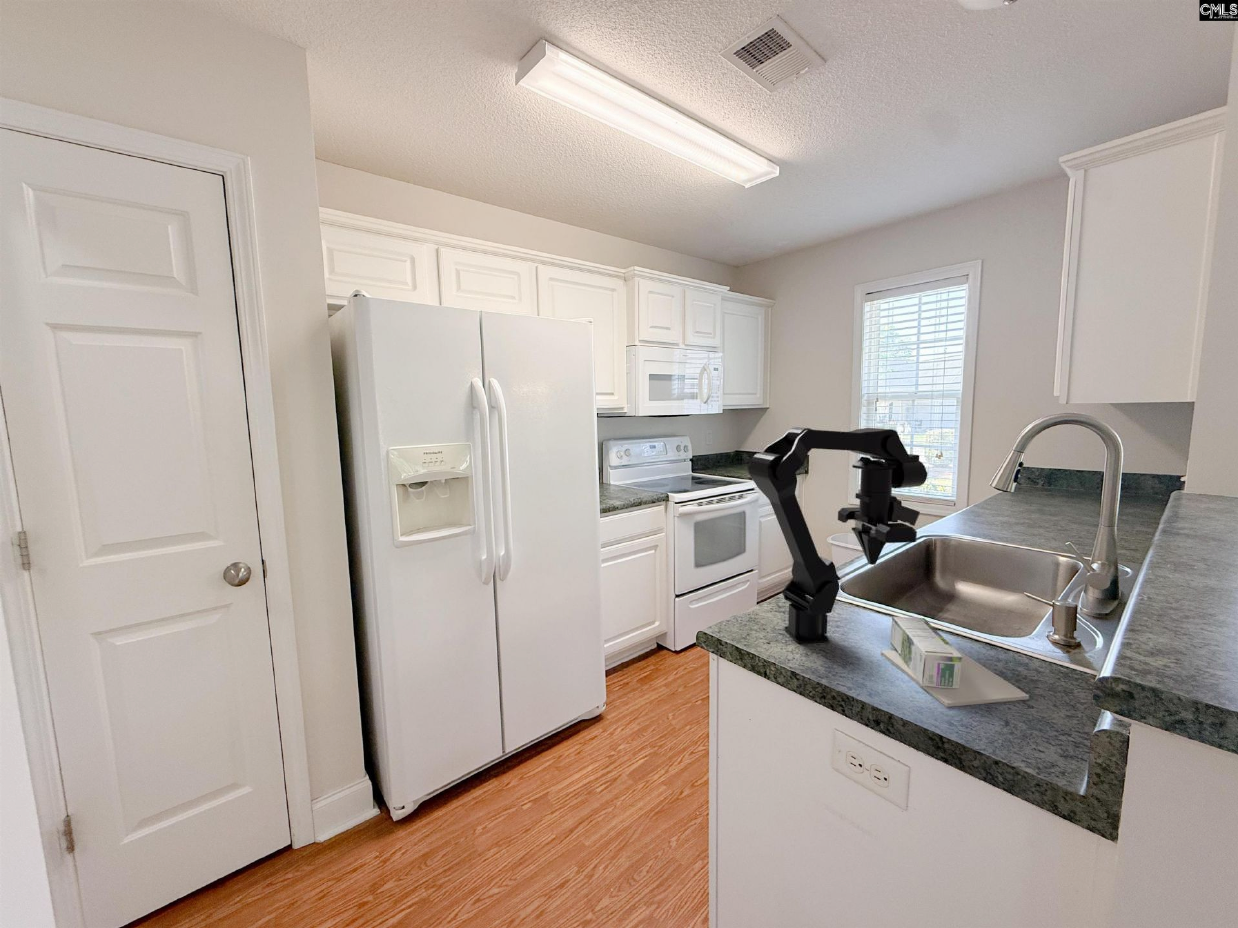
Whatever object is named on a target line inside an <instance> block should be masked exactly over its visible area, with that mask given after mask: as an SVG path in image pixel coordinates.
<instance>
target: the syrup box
mask: <svg viewBox="0 0 1238 928" xmlns="http://www.w3.org/2000/svg"><path fill="white" fill-rule="evenodd" d="M891 618H892V619H891V631H890V632H891V634H890V645H891V646H892V648H893V650H896V652H897V653H898V654H899V656H900V657H901V658H902V660H903V661H904V662H905V664H906V665H907V666H908V668H909V669H910V670H911V672H912V673H913V674H914V676H915V677H916V678H917V680H918V681H919V682H920V684H921V685H922V686H931V687H940V688H959V683H960V673H961V662H962V656H961V655H960V654H959V653H958V652H957V651H956V650H957V649H956V648H955V647H953V646H952V644H951V643H949V642H948V641H947V639H946V638H945V637H944V636H943V635H942V634H941V633H940V632H939V631H938V630H936V628H935V627H934V626H933V625H932V624H931V623H930V622H929V621H928V620H927V619H926V618H924V617H910V616H907V617H906V616H892V617H891Z"/></svg>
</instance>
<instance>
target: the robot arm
mask: <svg viewBox="0 0 1238 928" xmlns="http://www.w3.org/2000/svg"><path fill="white" fill-rule="evenodd" d="M812 449H814V450H832V451H833V450H834V451H850V452H852V453H854V454H857V455H858V454H859V455H862V456H860V458H859V459H858V460H856V461H855V462H854V463H853V464H852V465H851V466H852V468H853V469H857V470H860V486H859V487H860V488H859V492H855V499H857V500H859V506H857V507H856V506H855V507H841V508H840V509H839V510H838V511H837V521H839V522H842V523H844V524H845V523H848V521H854V522H855V523H854V527H851V531H852V532H853V533H854V535H855V538H856V539H857V542H858V544H859V545H860V548H861V549H862V552H863V553H864V556H865V559H866V560H867V561H866V562H867V563H868V564H869V565H874V566H875V565H876V564H877V562H878V560H879V558H880V555H881V554H882V551H883V549H884V547H885V546H886V543H888V544H898V543H900V544H902V543H916V542H917V540H918V538H917V535H918V531H917V530H916V529H915V528H914V527H915V526H916V523H917V521H918V518H919V516H920V514H921V511H919V510H916V509H913V508H910V507H907V506H905V505H902V504H903V503H902V500H900V499H898V498H897V496H895V495H892V494H893V492H892V491H893V489H904V488H905V489H907V488H914V487H920V486H921V487H922V485H924V484H925V483H926V482H927V479H928V471H927V469H926V466H925V465H924V463H923V462H922V461H920V455H919V454H913V453H909V452H908V451H907V449H906V447H905V446H904V444H903V442H902V440H901V438H900V436H899V434H898V431H897V430H896V429H892V428H880V427H879V428H877V427H864V428H859V429H854V430H851V431H850V430H849V431H840V430H839V431H838V430H827V429H826V430H824V429H812V428H808V427H799V426H798V427H792V428H790V429H789V430H787V431H786V432H785V433H784V435H782V436H781V437H779V438H778V439H776V440H775V441H773V442H771V443H769V444H767V446H765V447H764V448H763V449H762V450H761V451H760V452H758V453H756V454H754V456H752V458H751V459H750V461H749V464H748V466H747V470H748V474H749V477H751V479H752V481H753V482H754V484H755V486H756V487H757V488H758V490H760V491H761V493H762V494H763V495H764V496H766V498H767V499H768V500H769V502H770V505H771V508H772V511H773V512H774V515H775V517H776V519H777V522H778V525H779V527H780V529H781V533H782V535H783V537H784V540H785V542H786V545H787V547H788V550H789V552H790V555H791V557H792V561H793V562H792V567H791V574H792V575H791V576H792V579H791V580H790V581H788V584H787V585H786V586H785V587H784V588H783V589H782V591H781V592H782V596H783V599H784V601H787V602H789V603H788V620H787V625H785V626H784V628H783V629H784V630H785V632H787V634H788V635H789V636H790V637H791V638H792V639H793V640H794V641H795V642H796V643H797V644H811V643H823V642H825V643H826V642H829V641H830V638H829V637H828V636H827V633H828V618H829V617H828V616H829V615H828V614H831V613H832V611H833V609H834V605H835V602H836V600H837V596H838V593H839V591H840V587H841V586H840V582H839V581H840V580H841V577H840V576H839V575H838V573H837V569H836V565H835V563H834V562H833V561H832V560H829V559H827V558H824V557H822V556H820V555H819V554H818V550H817V548H816V546H815V543H814V541H813V538H812V535H811V532H810V529H809V527H808V524H807V522H806V518H805V517H804V516H805V515H804V514H803V512H802V509H801V506H800V503H799V500H798V499H797V496H796V491H797V485H798V476H797V472H798V471H799V470H800V469H801V468H802V467H803V466H804V464H805V462H806V459H807V457H808V455H809V453H810V451H812ZM866 456H867V457H866ZM899 521H900V522H899Z"/></svg>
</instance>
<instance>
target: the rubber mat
mask: <svg viewBox="0 0 1238 928" xmlns="http://www.w3.org/2000/svg"><path fill="white" fill-rule="evenodd" d="M956 651H957V652H958V653H959V654H960V655H961V656H962V662H961V673H960V683H959V688H940V687H931V686H922V685H921V684H920V682H919V681H918V680H917V678H916V677H915V676H914V674H913V673H912V672H911V670H910V669H909V668H908V666H907V665H906V664H905V662H904V661H903V660H902V658H901V657H900V656H899V654H898V653H897V652H896V650H895V649H893V650H882V651H880V655H881V656H883V658H884V659H886V660H887V661H888V662H890V663H891V665H893V666H895V667H896V668H897V669H898V670H900V671H901V672H902V673H903V674H904V675H906V676H907V677H909V678H910V679H911V680H912V681H913V682H914V683H916V684H917V685H918V686H920V687H921V688H922V689H923V690H924V691H926V692H927V693H928V694H930V695H931V696H932V697H933V698H935V700H937V701H939V702H940V703H941V704H942V705H943V706H944V707H946V708H949V707H950V708H951V707H960V706H970V705H984V704H991V703H1004V702H1012V701H1014V702H1016V701H1024V700H1025V701H1026V700H1029V698H1030V695H1029V694H1027V693H1025V692H1024V691H1022V690H1021V689H1019V688H1018V687H1016V686H1014V685H1013V684H1011V683H1010V682H1008V681H1006V680H1005V679H1003V678H1002V677H1001V676H999V675H997V674H996V673H994V672H992V671H991V670H989V669H988V668H986V667H984V666H983V665H981V664H980V663H978V662H977V661H975V660H973V659H972V658H970V657H969V656H967V655H965V654H964V653H962V652H961V651H959V650H957V649H956Z"/></svg>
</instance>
